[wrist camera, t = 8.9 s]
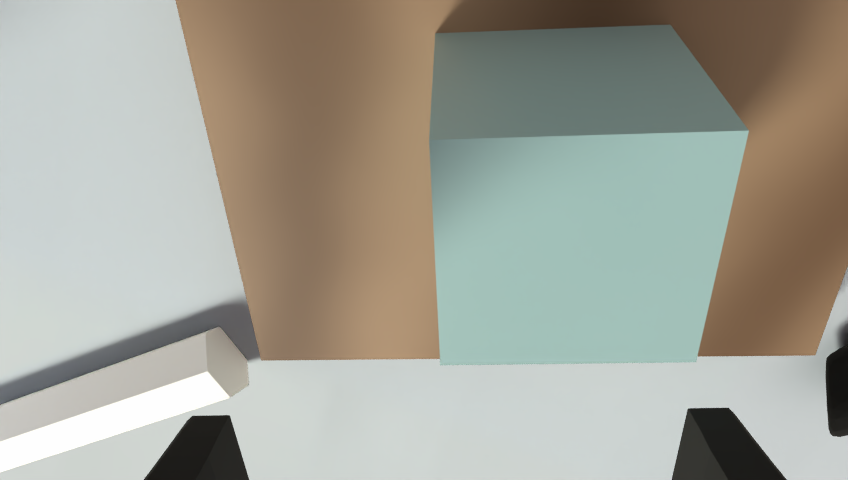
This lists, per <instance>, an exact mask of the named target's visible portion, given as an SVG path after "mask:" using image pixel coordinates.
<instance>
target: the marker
mask: <svg viewBox="0 0 848 480" xmlns="http://www.w3.org/2000/svg"><path fill="white" fill-rule="evenodd" d="M248 385H249V377H248V365H247V359H246V358H245V357H244V356H243V354H242V353H241V352H240V351H239V350H238V348H237V347H236V346H235V345H234V343H233V342H232V341H231V340H230V339H229V337H228V336H227V335H226V334H225V332H224V331H223V330H222V329H221V328H220V326H219V327H216V328H214V329H211V330H208V331H205V332H202V333H200V334H197V335H194V336H191V337H188V338H186V339H183V340H180V341H177V342H174V343H172V344H169V345H166V346H163V347H160V348H158V349H155V350H152V351H149V352H146V353H144V354H141V355H138V356H135V357H132V358H130V359H127V360H124V361H121V362H118V363H116V364H113V365H110V366H107V367H104V368H102V369H99V370H96V371H93V372H90V373H88V374H85V375H82V376H79V377H76V378H74V379H71V380H68V381H65V382H62V383H60V384H57V385H54V386H51V387H48V388H45V389H43V390H40V391H37V392H34V393H31V394H29V395H26V396H23V397H20V398H17V399H15V400H12V401H9V402H6V403H3V404H1V405H0V472H2V471H5V470H9V469H12V468H15V467H18V466H21V465H24V464H27V463H30V462H33V461H36V460H39V459H42V458H46V457H49V456H52V455H55V454H58V453H61V452H64V451H67V450H70V449H73V448H76V447H80V446H83V445H86V444H89V443H92V442H95V441H98V440H101V439H104V438H107V437H110V436H113V435H117V434H120V433H123V432H126V431H129V430H132V429H135V428H138V427H141V426H144V425H147V424H150V423H154V422H157V421H160V420H163V419H166V418H169V417H172V416H175V415H178V414H181V413H184V412H187V411H191V410H194V409H197V408H200V407H203V406H206V405H209V404H212V403H215V402H218V401H221V400H225V399H228V398H231V397H232V396H233V395H235V394H236V393H238V392H239V391H241V390H242V389H244V388H245V387H247V386H248Z"/></svg>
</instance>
